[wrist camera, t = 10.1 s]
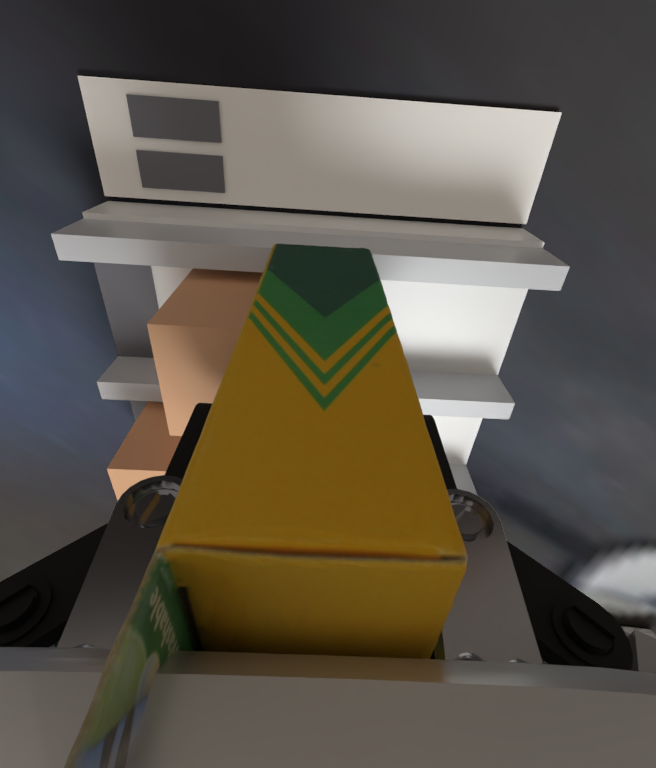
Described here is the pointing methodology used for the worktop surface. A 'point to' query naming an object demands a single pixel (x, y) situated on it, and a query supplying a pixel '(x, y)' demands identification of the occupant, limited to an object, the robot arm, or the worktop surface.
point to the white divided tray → (322, 220)
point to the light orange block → (143, 449)
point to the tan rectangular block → (198, 338)
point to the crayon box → (295, 501)
